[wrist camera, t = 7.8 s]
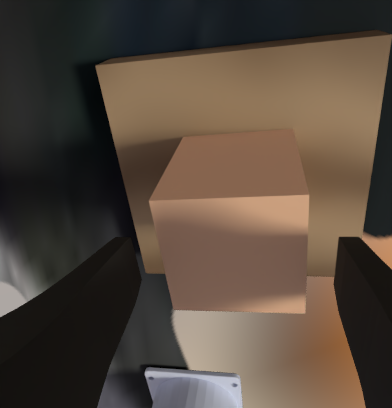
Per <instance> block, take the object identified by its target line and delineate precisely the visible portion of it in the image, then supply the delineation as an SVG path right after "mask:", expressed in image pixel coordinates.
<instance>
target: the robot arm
mask: <svg viewBox="0 0 392 408" xmlns="http://www.w3.org/2000/svg"><path fill="white" fill-rule="evenodd" d="M141 280H142V279H141V275H140V271H139V267H138V263H137V259H136V255H135V251H134V247H133V244H132V240H131V237H115V238H114V239H112V240H111V241H110V242H108V243H107V244H106V245H104V246H103V247H102V248H101V249H99V250H98V251H97V252H96V253H95V254H93V255H92V256H91V257H90V258H88V259H87V260H86V261H85V262H83V263H82V264H81V265H80V266H78V267H77V268H76V269H74V270H73V271H72V272H71V273H69V274H68V275H66V276H65V277H64V278H62V279H61V280H60V281H58V282H57V283H56V284H54V285H53V286H51V287H50V288H49V289H47V290H46V291H44V292H43V293H41V294H40V295H38V296H37V297H35V298H33V299H32V300H30V301H28V302H27V303H25V304H24V305H22V306H20V307H19V308H17V309H15V310H13V311H11V312H9V313H7V314H6V315H4V316H2V317H0V408H97V406H98V402H99V399H100V395H101V392H102V389H103V385H104V382H105V379H106V376H107V372H108V369H109V367H110V364H111V361H112V359H113V356H114V354H115V352H116V349H117V347H118V344H119V342H120V340H121V337H122V335H123V333H124V330H125V328H126V325H127V323H128V321H129V318H130V316H131V313H132V311H133V308H134V306H135V303H136V300H137V296H138V292H139V288H140V284H141ZM334 289H335V294H336V300H337V305H338V311H339V315H340V318H341V321H342V325H343V328H344V331H345V334H346V337H347V341H348V344H349V347H350V350H351V353H352V357H353V360H354V363H355V366H356V369H357V372H358V376H359V379H360V383H361V387H362V391H363V396H364V400H365V405H366V408H392V269H391V268H390V267H389V266H388V265H386V264H385V263H384V262H383V261H382V260H381V259H380V258H379V257H378V256H377V255H376V254H375V253H374V252H373V251H372V250H371V248H369V246H368V245H367V244H366V243H365V242H364V241H363V240H362V239H361V238H360V237H339V239H338V248H337V258H336V267H335V276H334ZM145 377H146V380H147V384H148V387H149V390H150V393H151V397H152V400H153V405H152V408H243V403H242V391H241V380H240V376H239V375H238V374H234V373H220V372H208V371H194V370H181V369H167V368H154V367H148V368H146V370H145Z"/></svg>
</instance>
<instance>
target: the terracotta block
mask: <svg viewBox="0 0 392 408" xmlns="http://www.w3.org/2000/svg"><path fill="white" fill-rule="evenodd" d="M149 204H150V208H151V213H152V217H153V221H154V226H155V230H156V234H157V239H158V243H159V248H160V252H161V256H162V261H163V265H164V269H165V274H166V278H167V283H168V287H169V291H170V296H171V300H172V304H173V309H174V310H194V311H195V310H196V311H230V312H232V311H234V312H266V313H303V314H305V308H306V279H307V278H306V277H307V249H308V219H309V191H308V187H307V183H306V179H305V175H304V171H303V167H302V163H301V159H300V155H299V151H298V147H297V142H296V138H295V134H294V130H293V129H282V130H269V131H255V132H242V133H229V134H215V135H202V136H188V137H183V138H182V140H181V142H180V144H179V146H178V148H177V149H176V151H175V153H174V155H173V157H172V159H171V161H170V162H169V164H168V166H167V168H166V170H165V172H164V174H163V175H162V177H161V179H160V181H159V183H158V185H157V187H156V188H155V190H154V192H153V194H152V196H151V198H150V200H149Z"/></svg>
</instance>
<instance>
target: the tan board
mask: <svg viewBox="0 0 392 408" xmlns="http://www.w3.org/2000/svg"><path fill="white" fill-rule="evenodd" d="M391 39H392V34H389V33H385V32H382V31H379V30H372V31H362V32H353V33H344V34H334V35H325V36H316V37H307V38H297V39H288V40H279V41H269V42H260V43H251V44H242V45H232V46H223V47H214V48H205V49H195V50H186V51H177V52H167V53H158V54H149V55H140V56H130V57H121V58H112V59H109V60H107V61H105V62H102V63H100V64H98V65H96V66H95V67H96V71H97V75H98V79H99V83H100V87H101V91H102V95H103V99H104V103H105V107H106V111H107V116H108V120H109V124H110V128H111V132H112V136H113V140H114V144H115V148H116V152H117V156H118V160H119V165H120V169H121V173H122V177H123V181H124V185H125V189H126V193H127V197H128V201H129V205H130V209H131V214H132V218H133V222H134V226H135V230H136V234H137V238H138V242H139V246H140V250H141V254H142V258H143V263H144V267H145V271H146V273H165V269H164V265H163V261H162V256H161V252H160V248H159V243H158V239H157V234H156V230H155V226H154V221H153V217H152V213H151V208H150V204H149V200H150V198H151V196H152V194H153V192H154V190H155V188H156V187H157V185H158V183H159V181H160V179H161V177H162V175H163V174H164V172H165V170H166V168H167V166H168V164H169V162H170V161H171V159H172V157H173V155H174V153H175V151H176V149H177V148H178V146H179V144H180V142H181V140H182V138H183V137H188V136H202V135H215V134H229V133H242V132H255V131H269V130H282V129H293V130H294V134H295V138H296V142H297V147H298V151H299V155H300V159H301V163H302V167H303V171H304V175H305V179H306V183H307V187H308V191H309V219H308V249H307V276H326V277H327V276H328V277H334V276H335V267H336V258H337V248H338V239H339V237H360V238H361V239H362V233H363V227H364V220H365V213H366V206H367V200H368V193H369V186H370V180H371V173H372V166H373V159H374V153H375V146H376V139H377V133H378V126H379V119H380V112H381V106H382V99H383V92H384V86H385V79H386V72H387V65H388V59H389V52H390V45H391Z"/></svg>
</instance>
